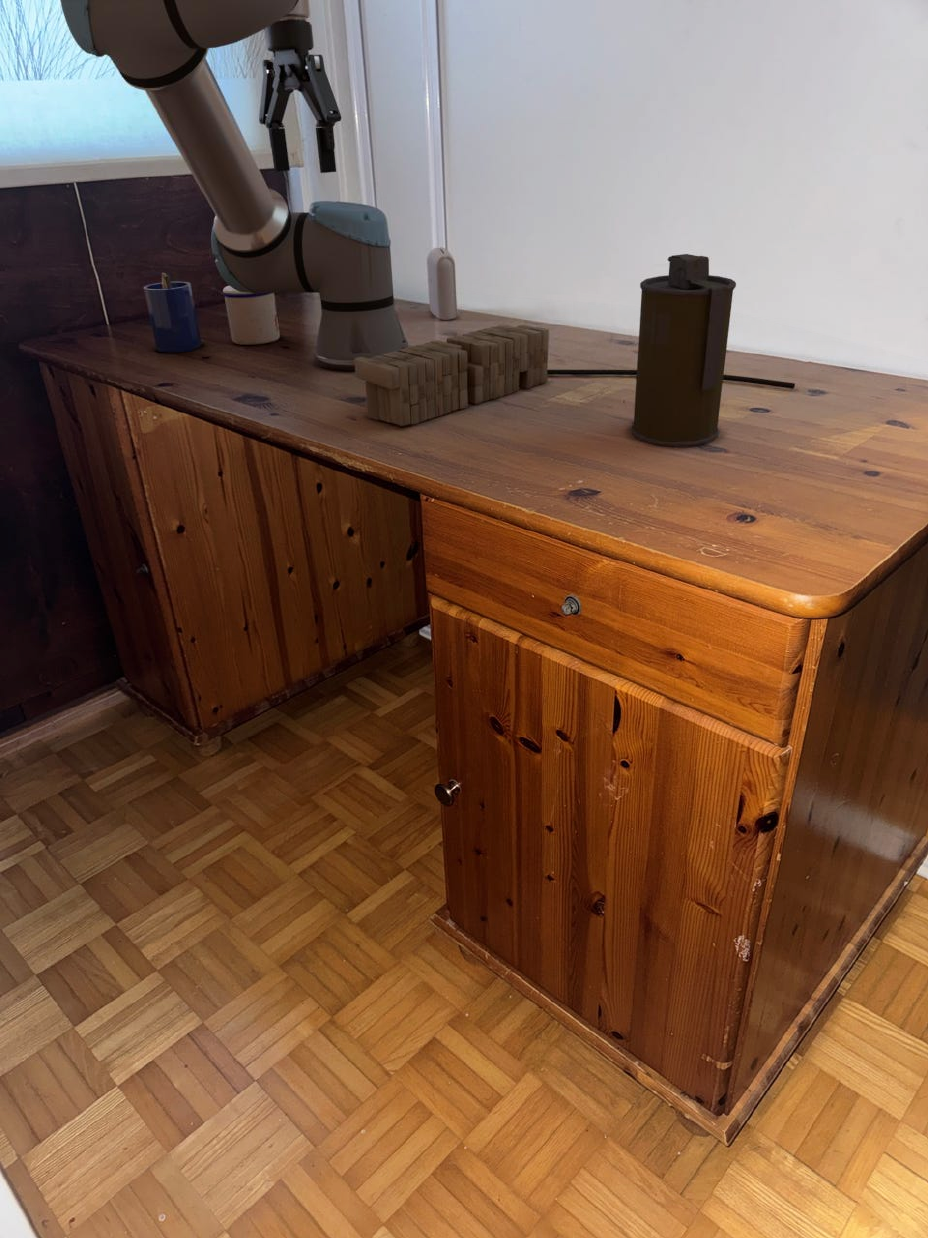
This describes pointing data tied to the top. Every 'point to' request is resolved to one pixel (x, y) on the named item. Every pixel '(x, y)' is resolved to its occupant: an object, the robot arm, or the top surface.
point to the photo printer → (442, 284)
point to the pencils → (166, 281)
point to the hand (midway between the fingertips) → (304, 171)
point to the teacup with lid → (251, 317)
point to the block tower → (453, 372)
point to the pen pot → (173, 317)
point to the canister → (681, 354)
